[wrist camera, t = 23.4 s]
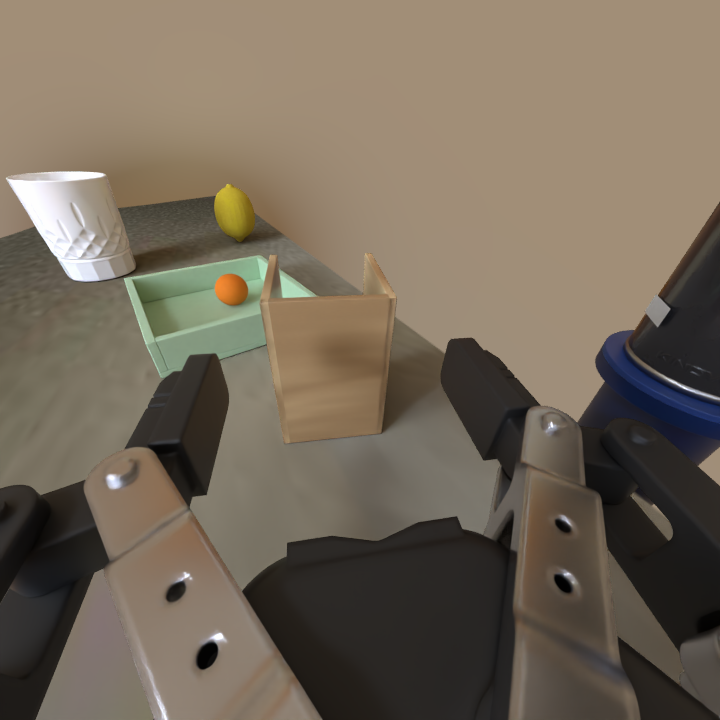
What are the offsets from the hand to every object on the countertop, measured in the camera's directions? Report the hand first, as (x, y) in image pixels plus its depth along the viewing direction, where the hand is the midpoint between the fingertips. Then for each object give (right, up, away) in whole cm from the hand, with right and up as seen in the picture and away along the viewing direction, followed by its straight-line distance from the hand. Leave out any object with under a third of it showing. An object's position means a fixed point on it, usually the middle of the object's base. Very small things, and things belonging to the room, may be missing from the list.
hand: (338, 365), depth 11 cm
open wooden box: (-1, -3, +10) cm, 10 cm away
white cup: (-30, +11, +27) cm, 42 cm away
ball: (-12, +7, +19) cm, 23 cm away
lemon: (-18, +19, +38) cm, 46 cm away
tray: (-12, +4, +19) cm, 23 cm away
